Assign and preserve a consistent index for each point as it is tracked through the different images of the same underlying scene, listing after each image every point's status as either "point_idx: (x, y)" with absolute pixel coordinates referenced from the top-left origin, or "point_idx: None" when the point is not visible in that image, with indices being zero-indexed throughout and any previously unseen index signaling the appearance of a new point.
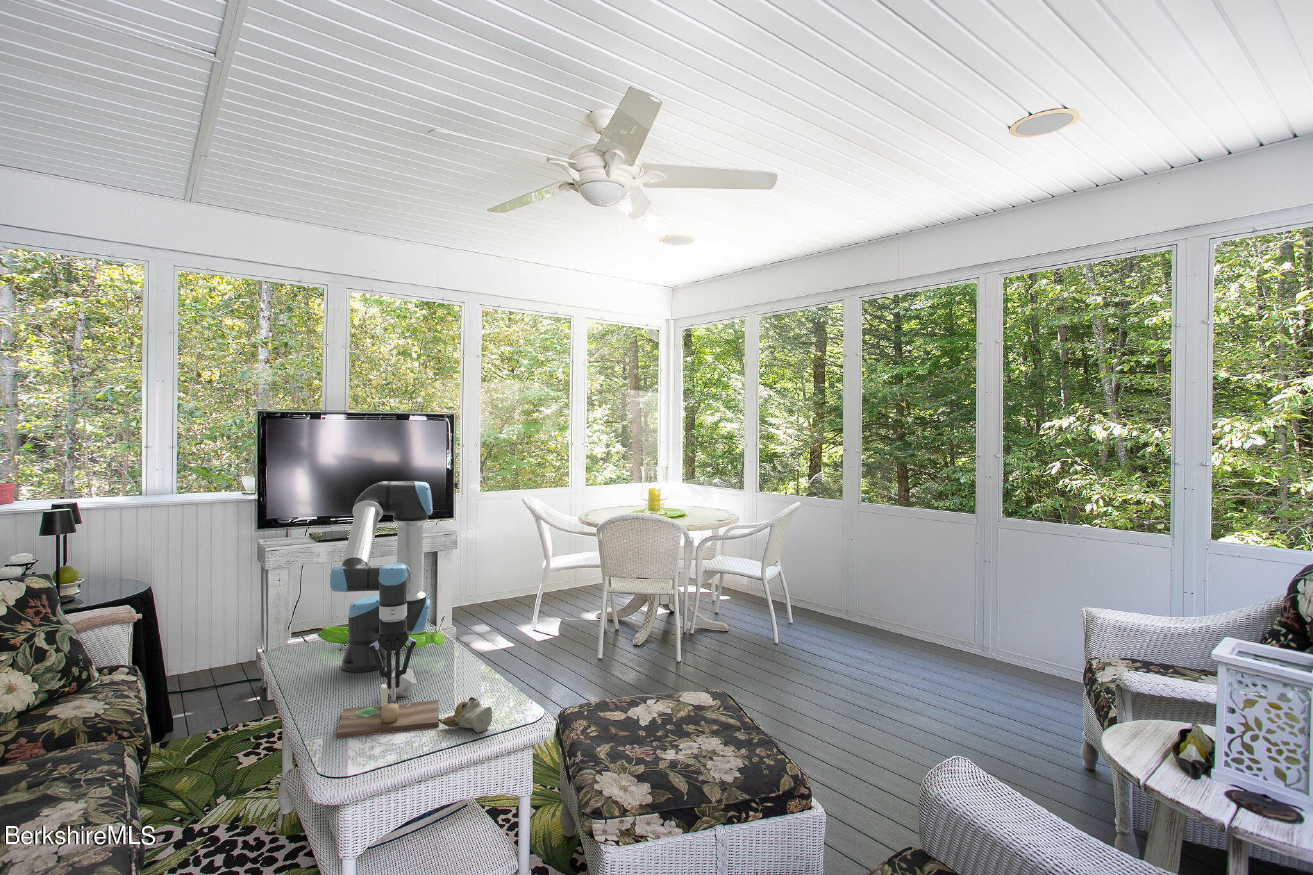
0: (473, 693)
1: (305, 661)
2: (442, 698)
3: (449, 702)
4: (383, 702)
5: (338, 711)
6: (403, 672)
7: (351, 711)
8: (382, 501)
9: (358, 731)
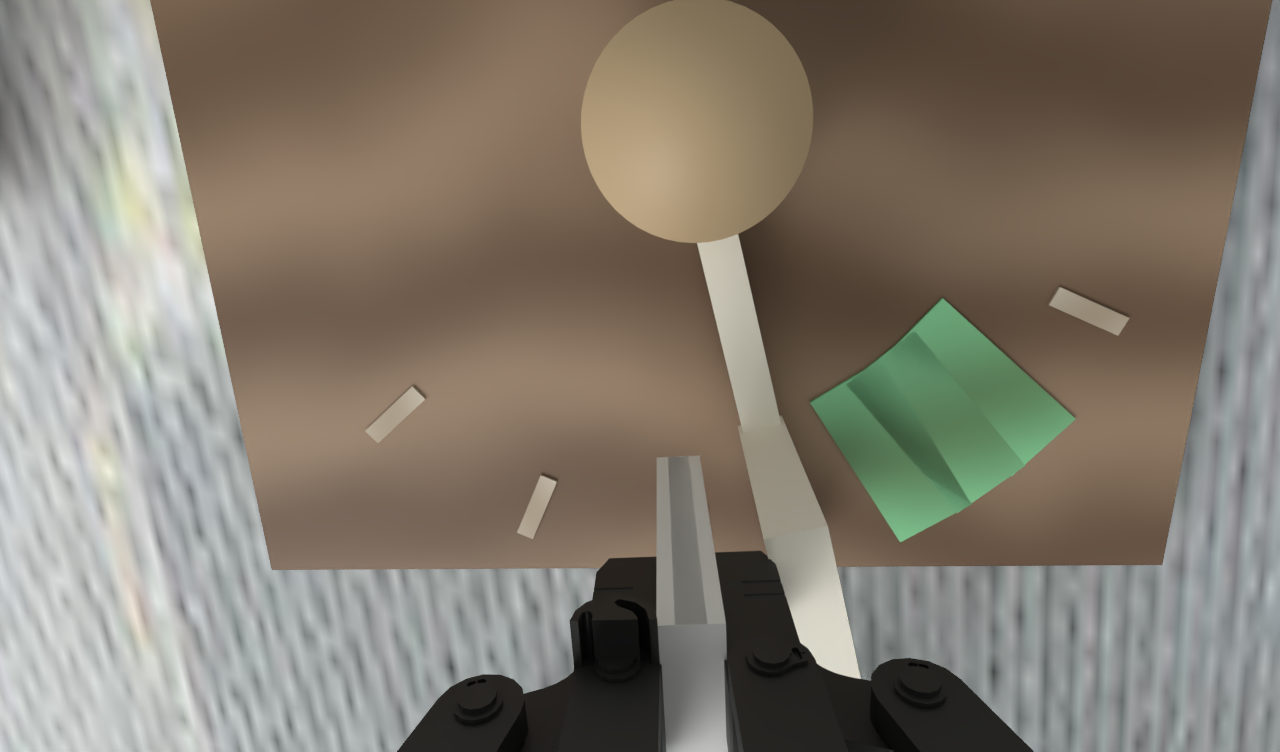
0: (45, 701)
1: None
2: (286, 663)
3: (208, 568)
4: (790, 446)
5: (1173, 602)
6: (485, 700)
7: (1091, 480)
8: None
9: None
